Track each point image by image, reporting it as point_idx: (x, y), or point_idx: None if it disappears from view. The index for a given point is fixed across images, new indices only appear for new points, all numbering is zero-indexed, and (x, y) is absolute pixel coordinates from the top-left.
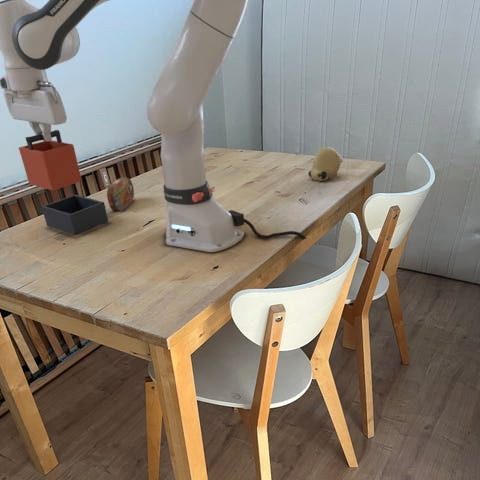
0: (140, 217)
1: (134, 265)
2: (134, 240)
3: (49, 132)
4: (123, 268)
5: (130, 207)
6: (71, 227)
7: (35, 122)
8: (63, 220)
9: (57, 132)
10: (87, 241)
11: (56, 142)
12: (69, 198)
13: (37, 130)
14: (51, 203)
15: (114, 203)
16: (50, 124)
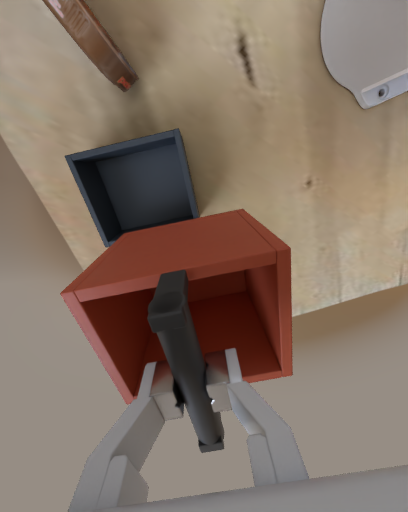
0: (199, 52)
1: (363, 197)
2: (293, 144)
3: (250, 390)
4: (354, 214)
5: (113, 23)
6: None
7: (137, 501)
8: None
9: (189, 318)
10: (228, 208)
11: (156, 286)
12: (81, 178)
13: (151, 426)
14: (98, 225)
15: (135, 79)
16: (297, 447)
